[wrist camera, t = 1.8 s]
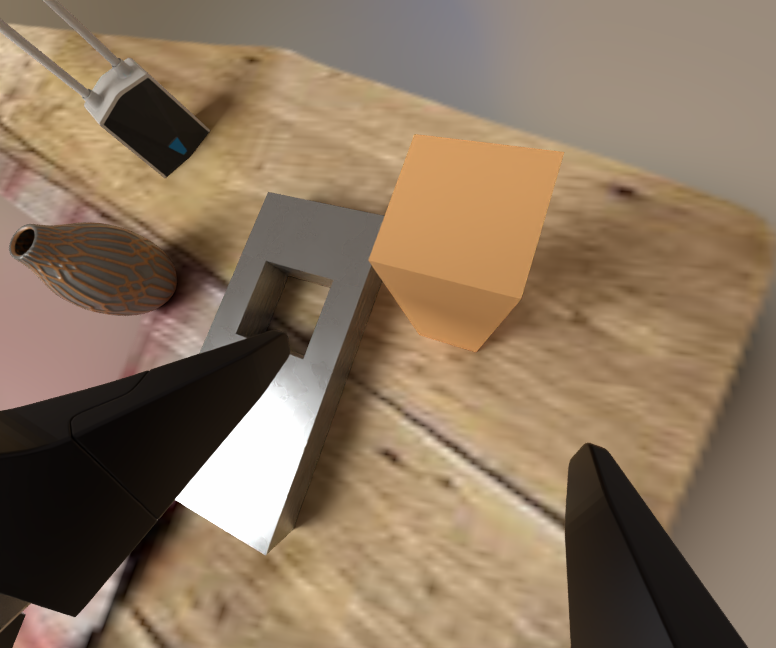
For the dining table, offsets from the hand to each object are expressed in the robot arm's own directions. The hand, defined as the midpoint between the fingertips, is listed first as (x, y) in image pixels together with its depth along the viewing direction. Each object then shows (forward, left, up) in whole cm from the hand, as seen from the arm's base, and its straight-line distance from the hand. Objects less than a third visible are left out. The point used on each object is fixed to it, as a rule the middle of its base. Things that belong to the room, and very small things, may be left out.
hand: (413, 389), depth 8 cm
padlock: (+23, +26, -12) cm, 37 cm away
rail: (+2, +11, -11) cm, 16 cm away
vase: (+8, +25, -12) cm, 29 cm away
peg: (+5, -1, -11) cm, 12 cm away
